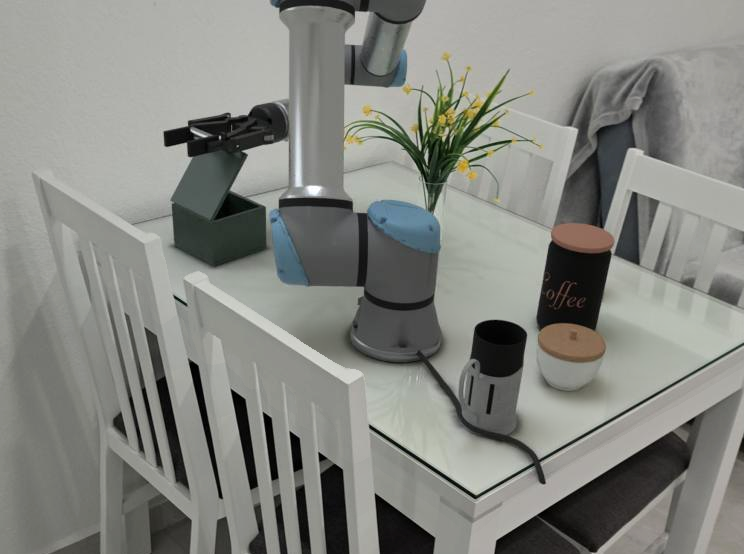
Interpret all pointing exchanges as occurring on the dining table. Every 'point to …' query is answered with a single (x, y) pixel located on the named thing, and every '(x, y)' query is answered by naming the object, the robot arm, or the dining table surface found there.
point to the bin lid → (208, 179)
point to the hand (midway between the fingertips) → (176, 144)
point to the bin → (221, 230)
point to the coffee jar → (574, 275)
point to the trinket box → (569, 355)
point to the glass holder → (493, 376)
